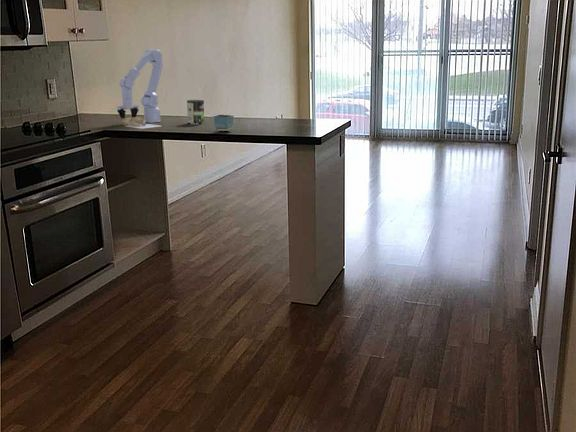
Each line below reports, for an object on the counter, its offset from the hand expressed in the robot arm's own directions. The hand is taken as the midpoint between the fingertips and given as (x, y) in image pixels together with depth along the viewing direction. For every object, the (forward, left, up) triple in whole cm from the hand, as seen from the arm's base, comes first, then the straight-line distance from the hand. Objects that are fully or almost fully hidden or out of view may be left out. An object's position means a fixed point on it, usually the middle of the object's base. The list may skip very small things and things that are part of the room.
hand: (128, 121), depth 364 cm
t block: (0, +8, -2) cm, 8 cm away
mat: (0, +14, -2) cm, 14 cm away
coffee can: (-30, +27, -2) cm, 40 cm away
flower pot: (-16, +64, -2) cm, 66 cm away
